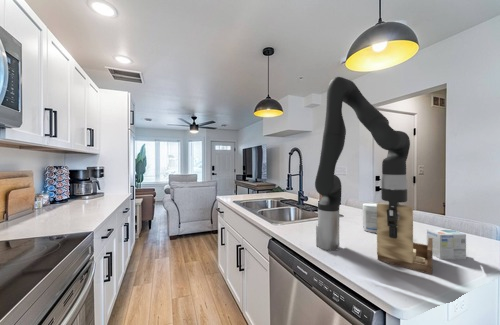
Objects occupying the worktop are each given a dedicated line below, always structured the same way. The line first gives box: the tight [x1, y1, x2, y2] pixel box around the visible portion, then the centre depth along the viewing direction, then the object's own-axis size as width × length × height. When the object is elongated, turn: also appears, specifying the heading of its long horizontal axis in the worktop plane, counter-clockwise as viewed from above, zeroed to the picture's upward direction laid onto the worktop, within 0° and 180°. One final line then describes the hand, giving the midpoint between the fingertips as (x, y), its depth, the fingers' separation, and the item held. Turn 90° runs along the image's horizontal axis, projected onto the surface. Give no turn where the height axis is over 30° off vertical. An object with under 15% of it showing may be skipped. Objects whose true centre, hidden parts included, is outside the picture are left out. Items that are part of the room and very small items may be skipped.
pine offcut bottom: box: [413, 256, 425, 264], centre depth 79 cm, size 12×4×3 cm, turn 49°
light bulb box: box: [426, 228, 467, 260], centre depth 85 cm, size 11×7×11 cm, turn 92°
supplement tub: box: [362, 202, 378, 234], centre depth 119 cm, size 10×10×15 cm
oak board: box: [376, 202, 414, 263], centre depth 74 cm, size 10×4×18 cm, turn 49°
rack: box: [377, 238, 434, 275], centre depth 82 cm, size 16×15×9 cm
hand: (394, 235), depth 74 cm, fingers closed on oak board, 4 cm apart
